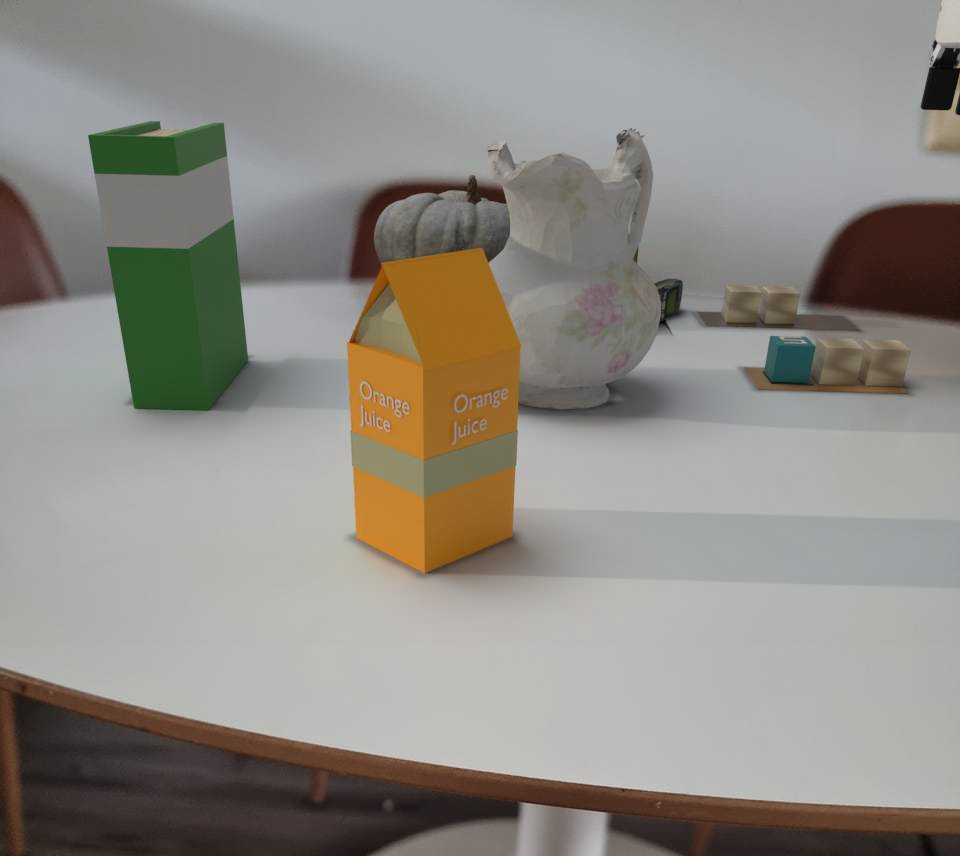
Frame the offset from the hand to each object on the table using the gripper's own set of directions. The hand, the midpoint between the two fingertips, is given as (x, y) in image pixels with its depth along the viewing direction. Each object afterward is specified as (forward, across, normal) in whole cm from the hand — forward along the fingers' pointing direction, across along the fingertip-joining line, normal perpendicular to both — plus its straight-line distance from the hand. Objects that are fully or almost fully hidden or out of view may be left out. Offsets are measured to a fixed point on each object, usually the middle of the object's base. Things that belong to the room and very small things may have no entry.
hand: (952, 112), depth 102 cm
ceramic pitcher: (+26, -16, +40) cm, 51 cm away
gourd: (+26, +23, +52) cm, 63 cm away
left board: (+26, +17, +10) cm, 33 cm away
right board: (+26, -10, +11) cm, 30 cm away
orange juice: (+26, -53, +51) cm, 78 cm away
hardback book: (+26, -16, +79) cm, 85 cm away
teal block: (+26, -10, +15) cm, 31 cm away
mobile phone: (+26, +17, +26) cm, 41 cm away
